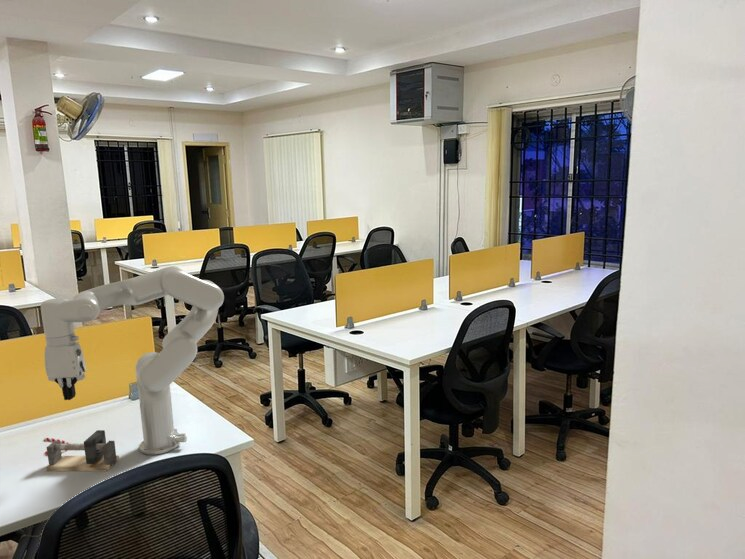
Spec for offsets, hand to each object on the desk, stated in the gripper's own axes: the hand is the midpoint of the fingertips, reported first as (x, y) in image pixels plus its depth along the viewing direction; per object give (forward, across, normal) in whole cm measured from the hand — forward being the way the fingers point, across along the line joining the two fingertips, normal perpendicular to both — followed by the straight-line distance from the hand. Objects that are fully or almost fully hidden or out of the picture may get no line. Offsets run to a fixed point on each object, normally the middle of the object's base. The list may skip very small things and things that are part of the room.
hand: (70, 398), depth 164 cm
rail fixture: (+22, -1, 0) cm, 22 cm away
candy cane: (+22, +16, -12) cm, 30 cm away
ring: (+20, -6, 0) cm, 20 cm away
